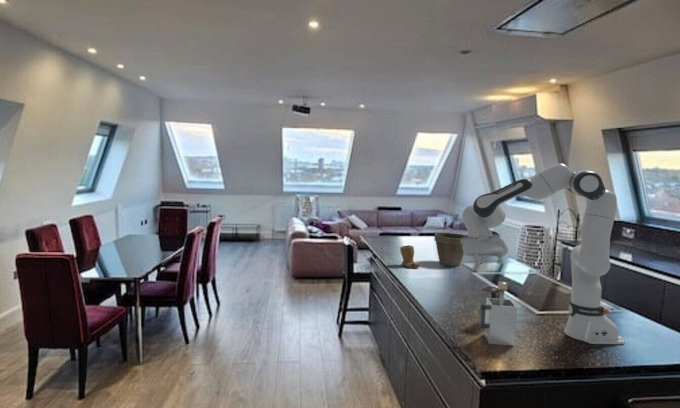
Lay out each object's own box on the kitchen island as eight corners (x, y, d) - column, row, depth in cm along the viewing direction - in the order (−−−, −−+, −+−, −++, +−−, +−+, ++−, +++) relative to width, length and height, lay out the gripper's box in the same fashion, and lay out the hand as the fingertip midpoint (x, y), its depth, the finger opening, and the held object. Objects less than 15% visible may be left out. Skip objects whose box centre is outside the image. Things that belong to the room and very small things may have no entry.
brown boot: (397, 264, 316) (398, 243, 315) (413, 264, 318) (414, 243, 317) (404, 269, 301) (405, 247, 300) (420, 268, 303) (421, 247, 302)
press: (508, 336, 185) (510, 299, 184) (514, 345, 175) (517, 307, 174) (476, 333, 187) (479, 297, 185) (481, 342, 177) (483, 304, 176)
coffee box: (492, 327, 195) (494, 292, 194) (478, 323, 199) (480, 289, 198) (499, 322, 202) (501, 288, 201) (485, 318, 206) (487, 285, 205)
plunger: (506, 332, 184) (510, 280, 182) (511, 340, 176) (515, 286, 174) (487, 331, 185) (490, 279, 183) (491, 338, 177) (494, 284, 175)
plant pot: (469, 262, 329) (471, 234, 327) (465, 269, 306) (467, 239, 304) (436, 258, 339) (438, 231, 337) (429, 265, 316) (431, 235, 314)
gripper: (462, 233, 191) (471, 259, 183) (503, 233, 196) (514, 259, 187) (456, 241, 196) (465, 267, 187) (496, 241, 201) (508, 266, 192)
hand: (490, 263), depth 187 cm, fingers open, 8 cm apart
